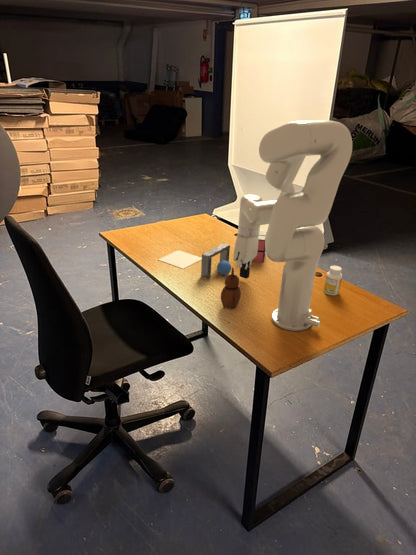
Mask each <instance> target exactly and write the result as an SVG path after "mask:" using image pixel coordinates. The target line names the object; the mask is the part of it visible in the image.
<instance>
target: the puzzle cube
mask: <svg viewBox="0 0 416 555" xmlns="http://www.w3.org/2000/svg"><path fill="white" fill-rule="evenodd" d="M266 234H267V231H260V230H259V236H258V252H257V256H256V257H255V258H254V259H253V260H252V262H255V263H264V259H265V257H266V256H265V255H266V251H265V239H266Z"/></svg>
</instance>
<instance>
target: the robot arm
mask: <svg viewBox="0 0 416 555" xmlns="http://www.w3.org/2000/svg"><path fill="white" fill-rule="evenodd" d="M352 153H353V140H352V135H351V132H350V130H349V128H348V127H347V126H346V125H345V124H343V123H341V122H339V121H334V120H326V119H325V120H324V119H323V120H322V119H321V120H296V121H291V122H286V123H285V124H282V125H281V126H278V127H276V128H274V129H271V130H270V131H268V132H267V133H265V134H264V135H263V136H262V138H261V139H260V143H259V146H258V154H259V157H260V159H261V161H262V162H264V163H266V164H269V166H268V168H267V171H266V172H265V179H266V180H267V183H268V184H269V185H270V186H272V187H273V188H275V189H276V190H278V191H280V193H279V195H278V197H277V199H275V200H274V199H272V200H263V199H262V197H261V196H259V195H257V194H244V195H242V197H241V198H240V202H239V216H238V224H237V226H238V228H237V235H236V239H235V244H234V250H233V261H234V262H236V261H237V263H236V266H237V267H238V268H239V278H240V277H241V278H242V279H245V280H246V279H248V278H250V272H251V267H252V262H253V261H252V260H253V259H254V258H255V257H256V256H257V252H258V236H259V231H260V228H261V226H262V225H263V226H264V225H267V226H268V227H267V231H266V232H267V234H266V239H265V255H266V257H267V258H268V259H269V260H271V261H272V262H274V263H284V262H285V263H284V266H283V269H282V275H281V283H280V291H279V297H278V304H277V309H275V310H273V311H272V313H271V320H272V322H273V323H274V324H275V325H276V326H277V327H279V328H281V329H284V330H286V331H294V332H300V331H305V330H307V329H309V328H310V327H311V326H313V327H316V328H319V327H320V324H321V321H320V317H319V316H316V315H313V314H312V312H313V310H312V309H311V308H310V307H311V306H310V305H311V300H312V295H313V288H314V282H315V277H316V272H317V269H318V264H319V260H320V258H321V256H322V253H323V251H324V247H325V242H326V241H325V240H326V239H325V235H324V233H323V231H322V229H321V228H319V227H318V225H319V226H320V225H321V224H323V223H325V222H326V221H327V219H328V217H329V214H330V213H331V210H332V207H333V204H334V201H335V197H336V194H337V191H338V188H339V186H340V182H341V180H342V177H343V175H344V173H345V172H346V169H347V167H348V165H349V163H350V160H351V157H352ZM308 156H309V157H310V156H320V157H319V159H317V161H316V162H315V163H314V164H313V165H312V167H311V168H310V170H309V172H308V173H307V176H306V179H305V183H304V185H303V188H302V190H300V191H298V192H296V191H295V186H294V184H293V182H294V181H295V179H296V177H297V175H298V173H299V170H300V169H301V167H302V164H303V162H304V161H305V158H306V157H308Z"/></svg>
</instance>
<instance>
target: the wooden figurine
mask: <svg viewBox="0 0 416 555" xmlns="http://www.w3.org/2000/svg"><path fill="white" fill-rule="evenodd" d="M230 273H231V274H226V276H225V278H224V287H223V288H222V290H221V293H220V300H221V301H220V302H221V304H222V306H223V307H224V308H225V309H227V310H233V309H235V308H237V307H238V305H239V303H240V300H241V298H242V297H241V296H242V291H241V288H240V286H239V285H240V277H239V276H238V275H236V274H235V270H234V267H231V271H230Z"/></svg>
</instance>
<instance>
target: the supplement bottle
mask: <svg viewBox="0 0 416 555" xmlns="http://www.w3.org/2000/svg"><path fill="white" fill-rule="evenodd" d="M342 279H343V274H342V267H341V266H338V265H330V267H329V271H327V272H326V277H325V279H324V280H325V282H324V286H323V292H324V293H325V294H327V295H329V296H337V295H339V294H340V289H341V285H342Z"/></svg>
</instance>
